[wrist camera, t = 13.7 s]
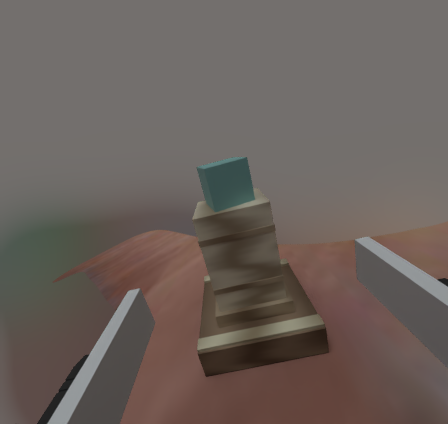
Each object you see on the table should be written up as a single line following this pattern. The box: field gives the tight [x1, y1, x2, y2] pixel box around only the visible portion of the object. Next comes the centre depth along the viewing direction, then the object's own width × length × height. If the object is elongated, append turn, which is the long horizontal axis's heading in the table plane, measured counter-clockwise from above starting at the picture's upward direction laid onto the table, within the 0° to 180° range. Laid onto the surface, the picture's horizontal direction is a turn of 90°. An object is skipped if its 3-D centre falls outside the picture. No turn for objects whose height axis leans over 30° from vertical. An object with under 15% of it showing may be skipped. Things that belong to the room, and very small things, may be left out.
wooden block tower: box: [192, 188, 295, 328], centre depth 23 cm, size 8×7×12 cm
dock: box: [197, 259, 329, 376], centre depth 26 cm, size 12×12×3 cm
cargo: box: [197, 157, 255, 213], centre depth 21 cm, size 4×4×4 cm
